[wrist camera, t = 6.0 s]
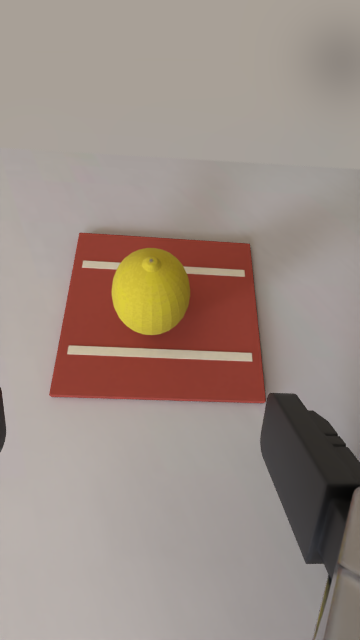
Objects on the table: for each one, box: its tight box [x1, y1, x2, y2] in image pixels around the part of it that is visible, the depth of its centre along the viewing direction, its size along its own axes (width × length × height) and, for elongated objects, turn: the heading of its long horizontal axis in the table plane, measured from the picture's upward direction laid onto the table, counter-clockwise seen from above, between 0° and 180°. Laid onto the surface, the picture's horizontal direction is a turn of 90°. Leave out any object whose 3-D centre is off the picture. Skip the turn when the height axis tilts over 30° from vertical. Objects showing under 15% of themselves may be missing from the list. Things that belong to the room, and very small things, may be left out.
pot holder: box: [49, 233, 266, 403], centre depth 28 cm, size 16×15×1 cm
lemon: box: [112, 248, 190, 335], centre depth 24 cm, size 6×6×8 cm
